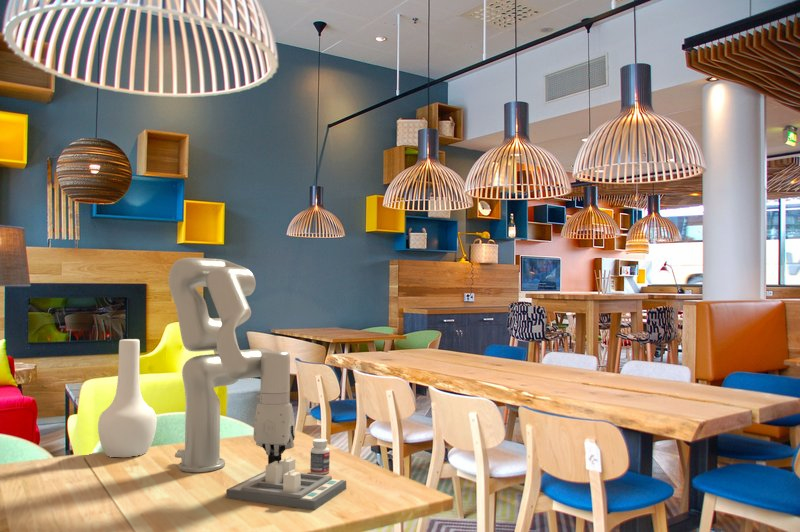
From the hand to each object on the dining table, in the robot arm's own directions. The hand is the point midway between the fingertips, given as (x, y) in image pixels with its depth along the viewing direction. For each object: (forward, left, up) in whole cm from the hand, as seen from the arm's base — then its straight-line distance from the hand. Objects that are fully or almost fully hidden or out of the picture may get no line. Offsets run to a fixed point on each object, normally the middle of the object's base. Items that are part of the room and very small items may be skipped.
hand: (274, 469), depth 164 cm
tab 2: (+4, 0, -2) cm, 4 cm away
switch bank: (+7, -5, -4) cm, 9 cm away
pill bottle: (+6, +14, -4) cm, 16 cm away
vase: (-59, +11, -4) cm, 60 cm away
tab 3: (+11, -10, -2) cm, 15 cm away
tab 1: (+3, -5, -2) cm, 6 cm away
